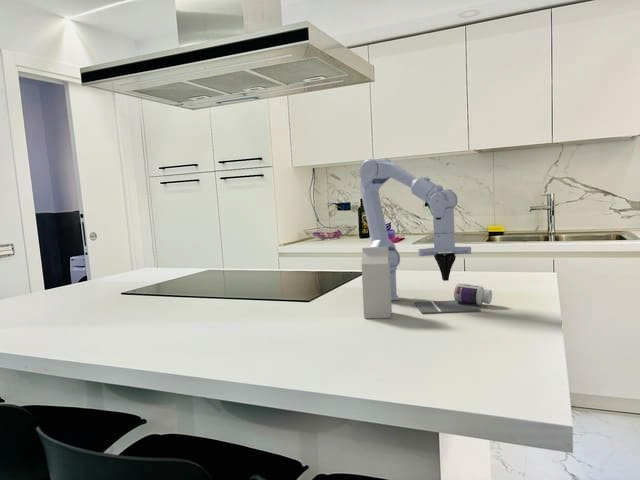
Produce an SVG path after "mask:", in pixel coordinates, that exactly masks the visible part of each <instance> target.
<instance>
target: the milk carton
mask: <svg viewBox="0 0 640 480" xmlns="http://www.w3.org/2000/svg"><path fill="white" fill-rule="evenodd" d="M361 249H362V255H361V278H362V279H361V280H362V281H361V283H362V285H361V286H362V301H363V303H362V305H363V318H364V319H391V316H392V311H393V310H392V309H393V307H392V306H393V305H392V300H391V279H390V258H389V250H388V247H372V248H369V247H362V248H361Z"/></svg>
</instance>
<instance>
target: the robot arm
mask: <svg viewBox="0 0 640 480" xmlns="http://www.w3.org/2000/svg"><path fill="white" fill-rule="evenodd" d="M358 172H359V177H360V185H359V189H360V190H359V191H360V195H361V199H362V200H361V201H362V203H363V204H362V205H363V209H364V213H365V218H366V222H367V227H368V231H369V236H370V241H371V243H370V245H369V246H368V248H372V247H388V250H389V258H390V279H391V301H400V297H399V295H398V293H397V270H398V269H397V267H399V265H400V262H401V256H400V252H398V250H397V248H396V244H395V243H394V242H393V241H392V240H391V239H390V238H389V234H388V230H387V225H386V221H385V216H384V210H383V207H382V202H381V197H380V194H379V191H380V189H381V187H382V186H383V185H385V183H387V182H388V181H389V180H390V179H393V180H395V181H397V182H399V183H401V184H403V185H404V186H407V187H408V188H410V189H411V190H410V191H411V194H412V195H413V196H415V197H417V198H419V199H420V200H422V201H423V202H425V203H427V204H428V206H429V208H430V209H431V212H432V213H431V214H432V216H433V217H432V221H433V247H430V248H429V247H428V248H427V247H426V248H418V250H417V251H418V256H419V257H426V256H427V257H430V256H433V257H434V259H435V262H436V263H437V266H438V267H439V271H440V274H441V279H442V281H444V282H446V281H447V282H448V281H449V279H450V278H449V277H450V274H451V270H452V268H453V265H454V262H455V261H456V259H457V256H456V255H472V247H471V246H456V242H455V241H456V237H455V213H454V212H455V209H454V208H456V206H457V204H458V196H457V194H456V193H455V192H454V191H453V190H452V189H450V188H449V189H444V188H443V186H442V185H441V184H439V185H437V183H434V182H433V181H431V178H430V177H428V176H424V177H423V176H421V177H418V178H417V177H416V176H414V175H413V174H412V173H410V172H408V171H407V170H406V169H404V168H403V167H402V166H399V165H398V164H397V162H395V161H392V160H390V159H389V158H386V159H385V158H383V159H372V158H367V159H365V160H364V161H363V162H362V164H360V167H359V169H358Z"/></svg>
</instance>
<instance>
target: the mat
mask: <svg viewBox="0 0 640 480" xmlns="http://www.w3.org/2000/svg"><path fill="white" fill-rule="evenodd" d="M414 304H415V306H416V307H417V309H418V310H419V312H420V313H421V314H422V315H425V314H427V315H428V314H450V313H451V314H452V313H453V314H455V313H474V312H478V313H479V312H481V311H482V310H481V308H479V307H478V306H477V305H476V304H469V303H462V302H456V301H455V299H454V300H453V299H452V300H451V299H450V300H437V301H436V300H435V301H434V300H428V301H414Z"/></svg>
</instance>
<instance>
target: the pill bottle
mask: <svg viewBox="0 0 640 480" xmlns="http://www.w3.org/2000/svg"><path fill="white" fill-rule="evenodd" d="M453 298H454V300H455V301H456V302H462V303H469V304H474V305H475V306H477V305H479V306H481V305H482V304H483V303H484V304H486V305H487V304H489V305H491V303H492V301H493V290H492V289H485V288H484V287H483V286H481V285H474V284H466V283H456V285H455V287H454V289H453Z"/></svg>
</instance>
